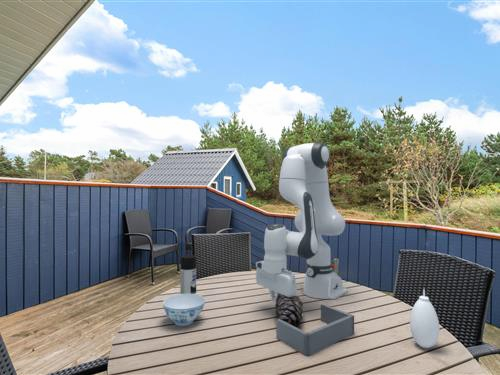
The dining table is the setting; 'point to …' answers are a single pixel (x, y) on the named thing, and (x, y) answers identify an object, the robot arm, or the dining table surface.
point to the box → (317, 331)
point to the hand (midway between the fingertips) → (275, 301)
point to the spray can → (188, 274)
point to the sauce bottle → (424, 322)
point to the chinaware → (183, 308)
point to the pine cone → (289, 310)
